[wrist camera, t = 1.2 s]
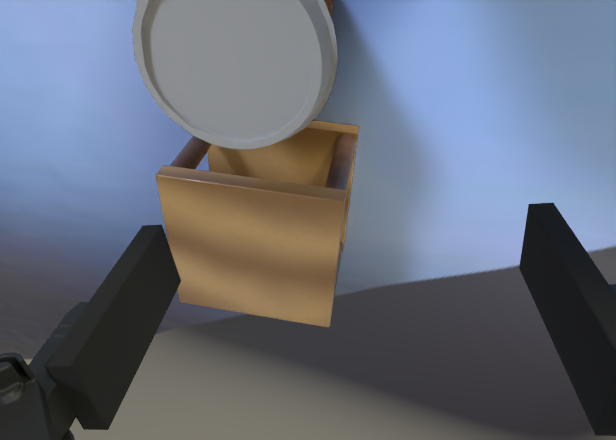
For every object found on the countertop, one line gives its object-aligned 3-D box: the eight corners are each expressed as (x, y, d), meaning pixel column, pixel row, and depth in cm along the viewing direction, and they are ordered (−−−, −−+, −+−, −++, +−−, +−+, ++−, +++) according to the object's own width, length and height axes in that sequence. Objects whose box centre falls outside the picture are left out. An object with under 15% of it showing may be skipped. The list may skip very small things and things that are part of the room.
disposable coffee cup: (184, -9, 31) (84, 51, 21) (283, -135, 26) (209, -128, 16) (285, 97, 34) (237, 190, 25) (390, 4, 29) (380, 76, 20)
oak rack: (208, 107, 36) (155, 175, 28) (359, 125, 34) (344, 201, 27) (219, 224, 43) (179, 302, 35) (344, 242, 41) (329, 328, 34)
